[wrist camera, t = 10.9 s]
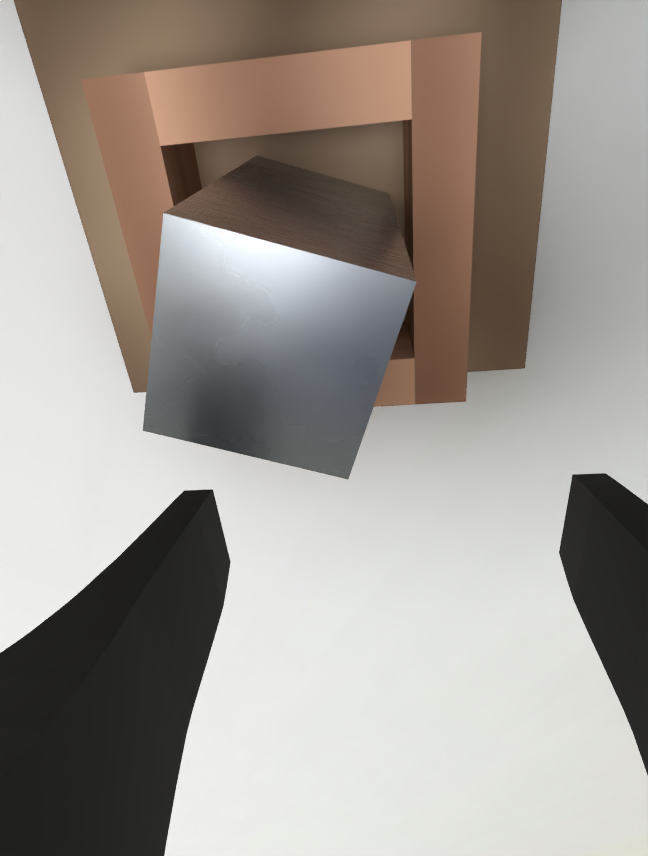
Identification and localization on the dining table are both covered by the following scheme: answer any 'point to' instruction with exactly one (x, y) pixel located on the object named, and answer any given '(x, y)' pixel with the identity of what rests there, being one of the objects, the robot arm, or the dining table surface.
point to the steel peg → (276, 315)
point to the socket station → (316, 145)
